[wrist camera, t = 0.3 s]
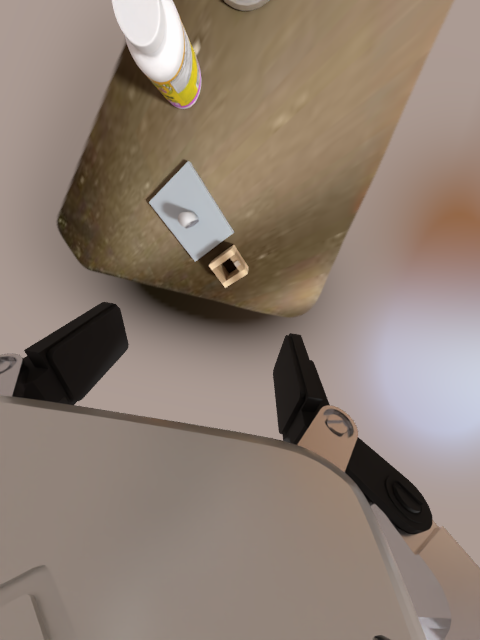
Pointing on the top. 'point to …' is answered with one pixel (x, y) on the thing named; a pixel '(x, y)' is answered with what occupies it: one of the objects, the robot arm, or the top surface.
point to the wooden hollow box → (221, 271)
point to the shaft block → (191, 212)
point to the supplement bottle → (161, 48)
